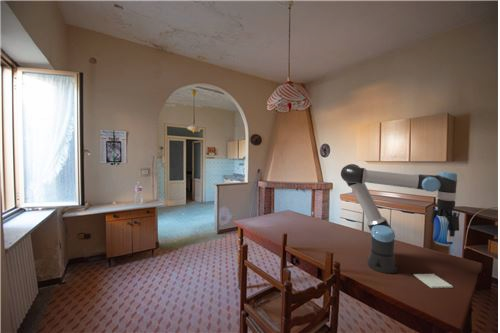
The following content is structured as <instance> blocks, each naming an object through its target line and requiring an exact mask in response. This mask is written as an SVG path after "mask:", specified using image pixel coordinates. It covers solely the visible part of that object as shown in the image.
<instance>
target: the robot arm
mask: <svg viewBox="0 0 500 333" xmlns="http://www.w3.org/2000/svg"><path fill="white" fill-rule="evenodd" d="M340 177H341V179H342V180H343V181H344V182H346V184H347V186H348V187H349V188H351V189H352V192H353V193H354V195H355V197H356V199H357V201H358V203H359V205H360V207H361V209H362V211H363V213H364V215H365V217H366V219H367V223H366V224H367V226H368V228H369V230H370V235H371V237H370V252H369V255H368V258H367V260H366V264H367V266H368V267H369V268H370V269H371V270H374V271H376V272H380V273H383V274H394V273H397V271H398V266H397V263H396V260H395V238H396V234H395V230H394V229H393V228H392V226H391V225H390V224H389V222H388V221H387V219H386V217H384V216H382V214H381V212H380V210H379V208H378V206H377V205H376V203H375V202H376V201H375V200H374V198H373V196H372V195H371V193H370V191H369V189H368V187H367V185H366V183H367V184H376V185H383V186H392V187H399V188H408V189H413V190H414V189H415V190H422V191H426V192H431V193H432V192H437V200H436V205H437V206H433V207H432V215H431V219H430V222H431V223H432V224H434V219H435V217H436V216H437V215H438V216H445V217H446V218H447V220H448V222H449V230H448V235H447V241H448V242H453V243H454V237H455V235H456V234H455V233H456V232H458V231H460V215H461V214H460V212H457V211H455V210H454V208H455V207H456V198H457V185H458V174H457V173H455V172H450V171H449V172H448V171H440V172H439V173H438V174H437V175H436V174H435V175H433V174H417V173H415V174H408V173H407V174H406V173H398V172H389V171H381V170H379V171H377V170H370V169H366V167H360V166H359V165H357V164H354V163H353V164H352V163H350V164H347V165H345V166H343V167H342V168H341V170H340Z"/></svg>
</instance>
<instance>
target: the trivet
mask: <svg viewBox="0 0 500 333" xmlns="http://www.w3.org/2000/svg"><path fill="white" fill-rule="evenodd" d="M413 276H414V277H416V278H417V279H418V280H420V281H421V282H422V283H424V284H425V285H427V286H428V287H429V288H431V289H453V288H454V286H453V285H452V284H450V283H449V282H447V281H446V280H444V279H443V278H441V277H439V276H438V275H436V274H435V273H414V274H413Z"/></svg>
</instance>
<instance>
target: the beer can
mask: <svg viewBox="0 0 500 333" xmlns="http://www.w3.org/2000/svg"><path fill="white" fill-rule="evenodd" d="M448 230H449V222H448V220H447V218H446V217H445V216H438V215H437V216H436V217H435V219H434V223H433V231H432V232H433V233H432V240H433V243H435V244H436V245H439V246H444V247H450V246H452V245H453V243H454V241H453V242H448V241H447V235H448Z"/></svg>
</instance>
